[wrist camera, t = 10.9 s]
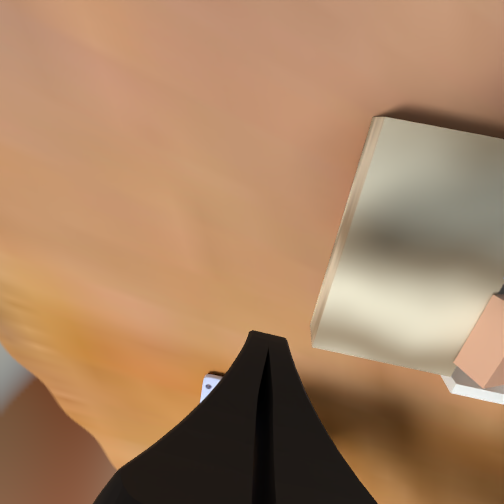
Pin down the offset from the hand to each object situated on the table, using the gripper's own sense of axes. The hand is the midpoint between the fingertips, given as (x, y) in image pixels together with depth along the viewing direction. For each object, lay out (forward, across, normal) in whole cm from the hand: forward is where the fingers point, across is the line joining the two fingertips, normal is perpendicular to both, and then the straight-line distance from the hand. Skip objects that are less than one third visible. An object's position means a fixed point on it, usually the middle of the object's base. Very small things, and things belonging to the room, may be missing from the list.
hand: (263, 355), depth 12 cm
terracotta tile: (+8, -14, +1) cm, 17 cm away
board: (+10, -8, -2) cm, 13 cm away
